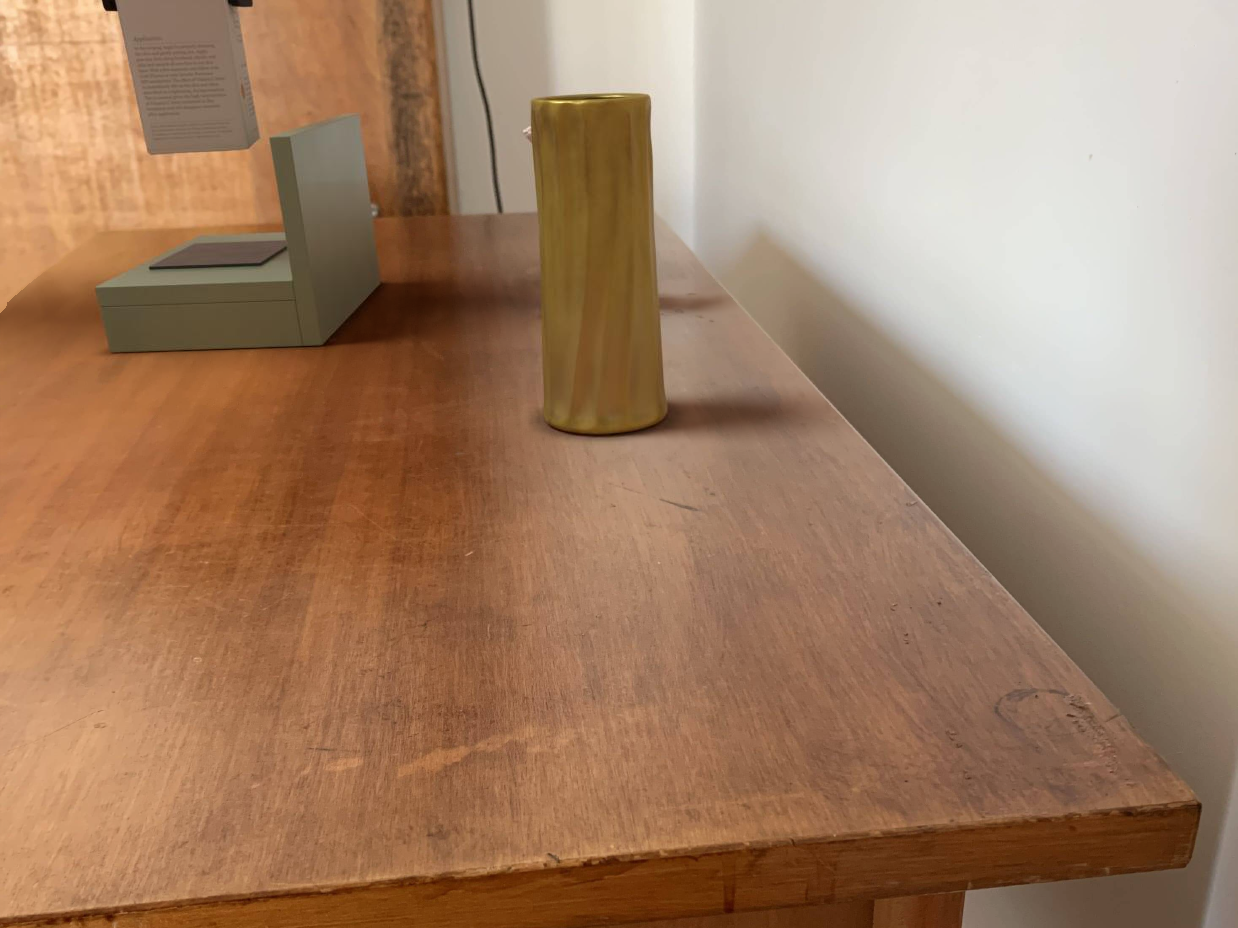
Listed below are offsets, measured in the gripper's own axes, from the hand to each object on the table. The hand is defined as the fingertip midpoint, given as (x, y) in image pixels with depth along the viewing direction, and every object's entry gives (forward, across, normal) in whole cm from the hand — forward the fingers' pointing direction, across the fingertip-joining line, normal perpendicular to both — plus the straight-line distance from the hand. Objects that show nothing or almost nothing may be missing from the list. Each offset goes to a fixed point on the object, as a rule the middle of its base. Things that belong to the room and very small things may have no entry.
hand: (179, 6), depth 72 cm
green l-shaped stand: (+19, +1, 0) cm, 19 cm away
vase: (+19, +26, -27) cm, 42 cm away
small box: (+8, 0, 0) cm, 8 cm away
